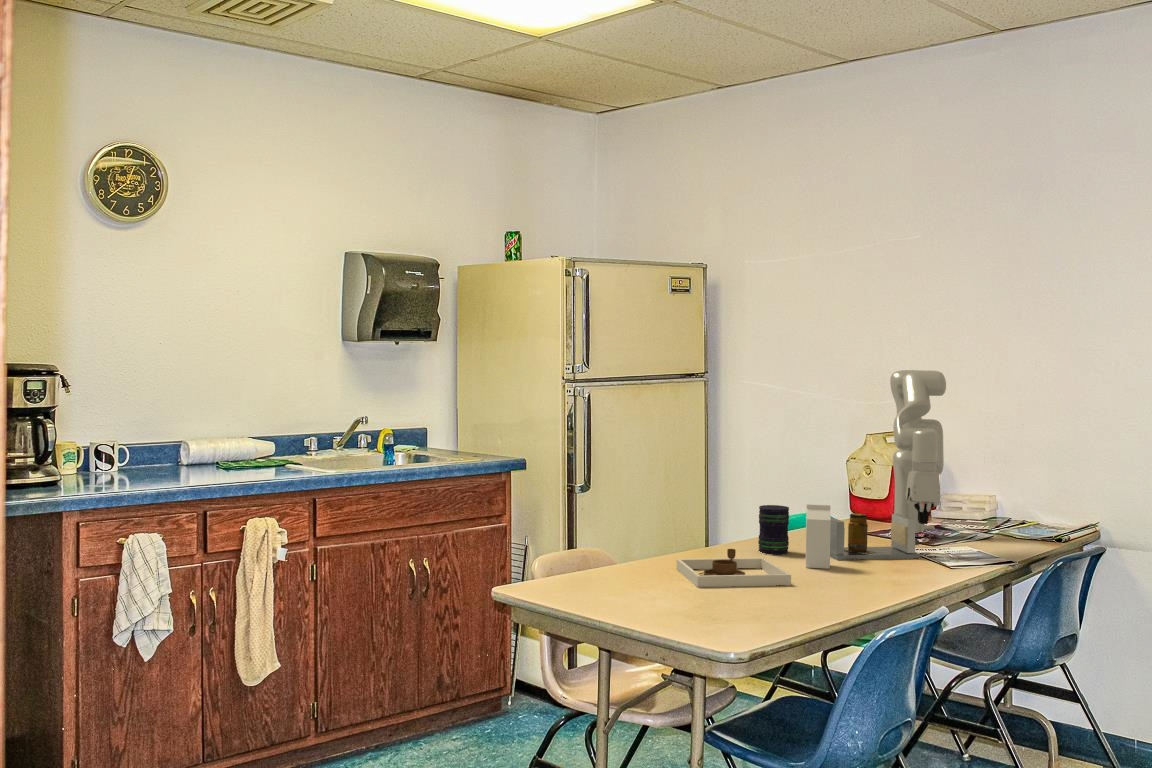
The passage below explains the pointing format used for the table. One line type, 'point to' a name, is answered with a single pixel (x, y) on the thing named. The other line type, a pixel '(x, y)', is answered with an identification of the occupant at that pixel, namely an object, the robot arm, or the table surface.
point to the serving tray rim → (771, 579)
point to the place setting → (724, 566)
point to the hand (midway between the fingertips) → (923, 523)
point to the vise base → (881, 553)
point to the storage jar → (773, 529)
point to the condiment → (858, 534)
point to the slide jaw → (903, 533)
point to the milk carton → (818, 536)
